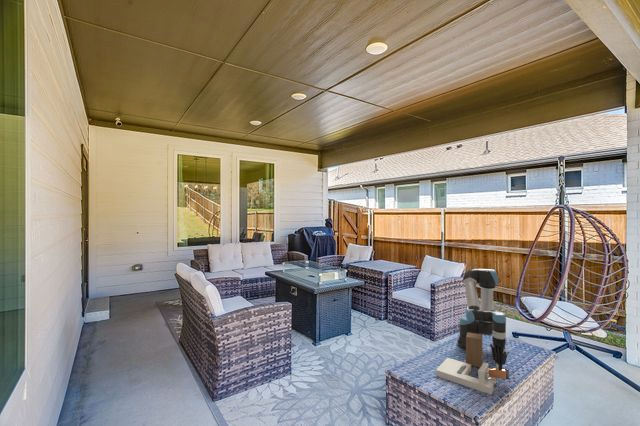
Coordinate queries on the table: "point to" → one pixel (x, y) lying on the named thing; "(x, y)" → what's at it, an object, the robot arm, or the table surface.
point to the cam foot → (495, 375)
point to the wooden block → (474, 349)
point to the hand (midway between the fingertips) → (498, 373)
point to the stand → (465, 375)
